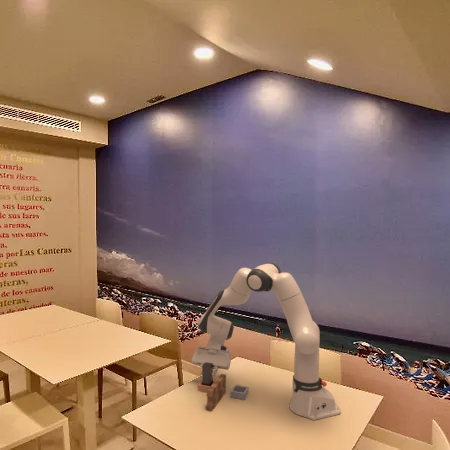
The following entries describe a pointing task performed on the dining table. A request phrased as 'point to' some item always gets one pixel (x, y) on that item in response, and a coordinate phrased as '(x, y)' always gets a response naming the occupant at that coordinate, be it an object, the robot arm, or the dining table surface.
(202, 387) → the frame
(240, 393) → the frame
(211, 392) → the door panel
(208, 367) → the bar
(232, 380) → the dining table surface
